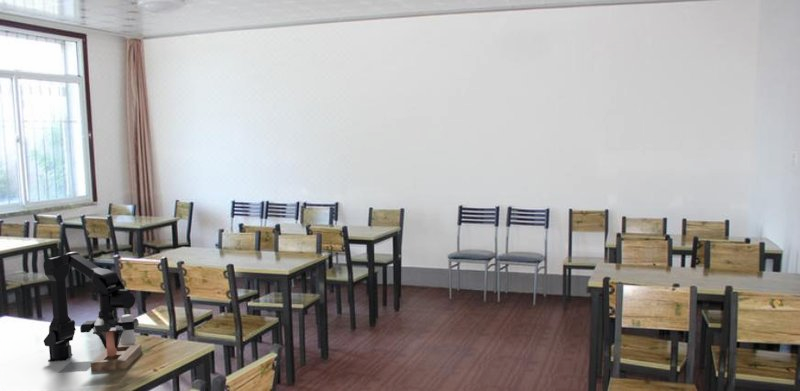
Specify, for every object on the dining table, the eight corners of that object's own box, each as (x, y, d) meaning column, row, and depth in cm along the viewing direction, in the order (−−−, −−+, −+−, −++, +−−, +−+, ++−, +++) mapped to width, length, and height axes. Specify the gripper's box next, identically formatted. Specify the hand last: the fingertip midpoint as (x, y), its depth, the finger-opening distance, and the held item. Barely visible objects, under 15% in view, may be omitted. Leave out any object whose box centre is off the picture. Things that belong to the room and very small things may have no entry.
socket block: (91, 372, 222) (90, 362, 221) (110, 354, 239) (109, 346, 239) (125, 369, 223) (125, 360, 222) (141, 352, 240) (141, 344, 240)
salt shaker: (130, 349, 245) (127, 317, 244) (117, 348, 246) (115, 317, 245) (139, 344, 251) (137, 313, 250) (126, 343, 252) (124, 312, 251)
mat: (57, 373, 221) (57, 372, 221) (69, 363, 231) (69, 362, 231) (86, 371, 222) (86, 370, 222) (97, 361, 232) (97, 360, 232)
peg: (105, 356, 224) (103, 332, 223) (109, 353, 227) (107, 329, 227) (114, 355, 225) (113, 331, 224) (118, 352, 228) (116, 329, 227)
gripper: (72, 314, 216) (75, 357, 217) (127, 311, 217) (130, 354, 219) (85, 305, 227) (88, 346, 228) (137, 302, 228) (140, 343, 230)
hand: (111, 348), depth 226 cm, fingers closed on peg, 3 cm apart
